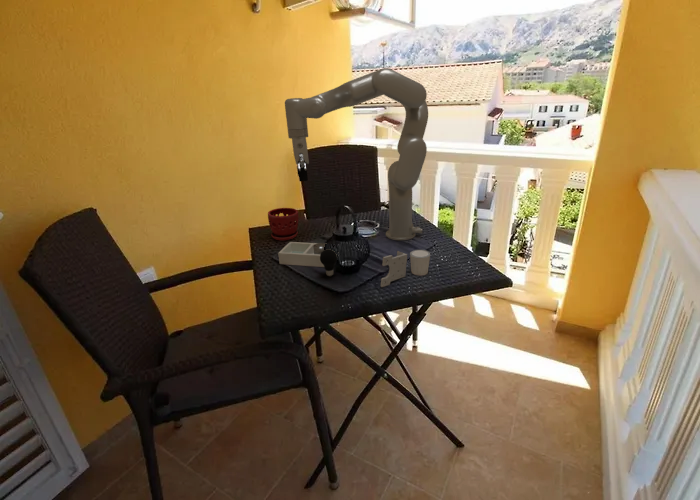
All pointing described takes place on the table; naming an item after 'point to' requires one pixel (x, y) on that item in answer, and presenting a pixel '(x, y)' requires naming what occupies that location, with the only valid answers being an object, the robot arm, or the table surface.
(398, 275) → the bracket
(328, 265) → the light bulb
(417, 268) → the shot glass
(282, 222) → the plant pot
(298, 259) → the box
